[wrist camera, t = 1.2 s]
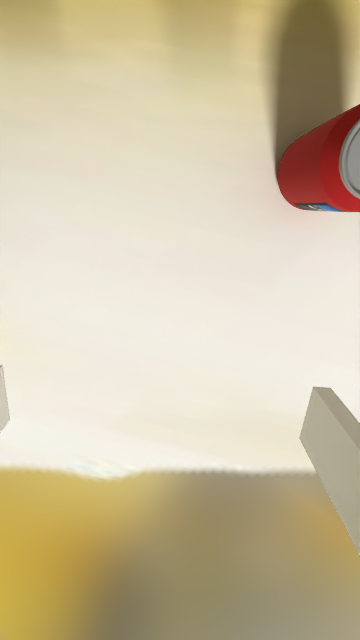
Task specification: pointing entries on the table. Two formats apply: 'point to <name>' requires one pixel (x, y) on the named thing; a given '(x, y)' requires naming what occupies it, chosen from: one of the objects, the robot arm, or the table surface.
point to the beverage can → (324, 166)
